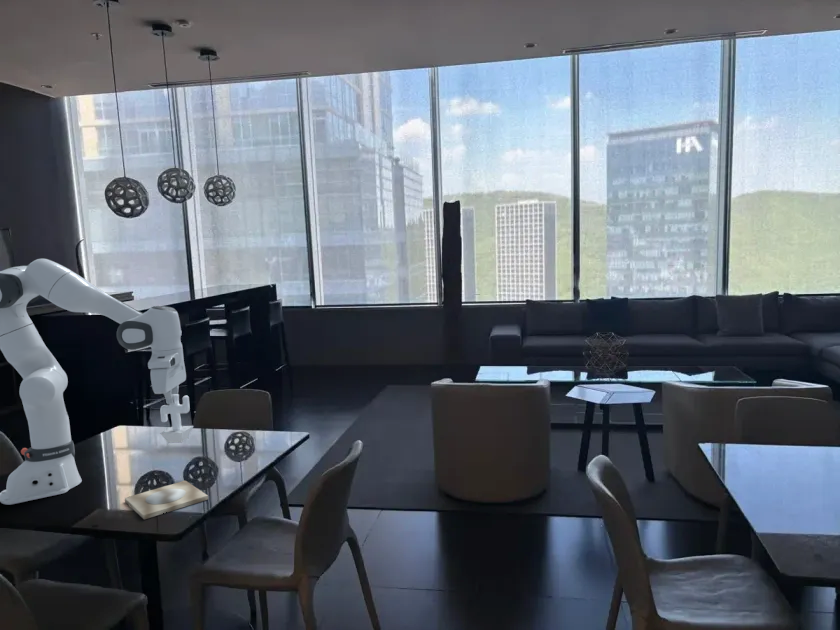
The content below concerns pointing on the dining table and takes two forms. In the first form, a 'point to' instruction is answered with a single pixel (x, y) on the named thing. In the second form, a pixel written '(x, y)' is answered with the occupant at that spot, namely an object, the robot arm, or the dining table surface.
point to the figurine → (176, 420)
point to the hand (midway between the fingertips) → (172, 401)
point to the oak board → (165, 499)
